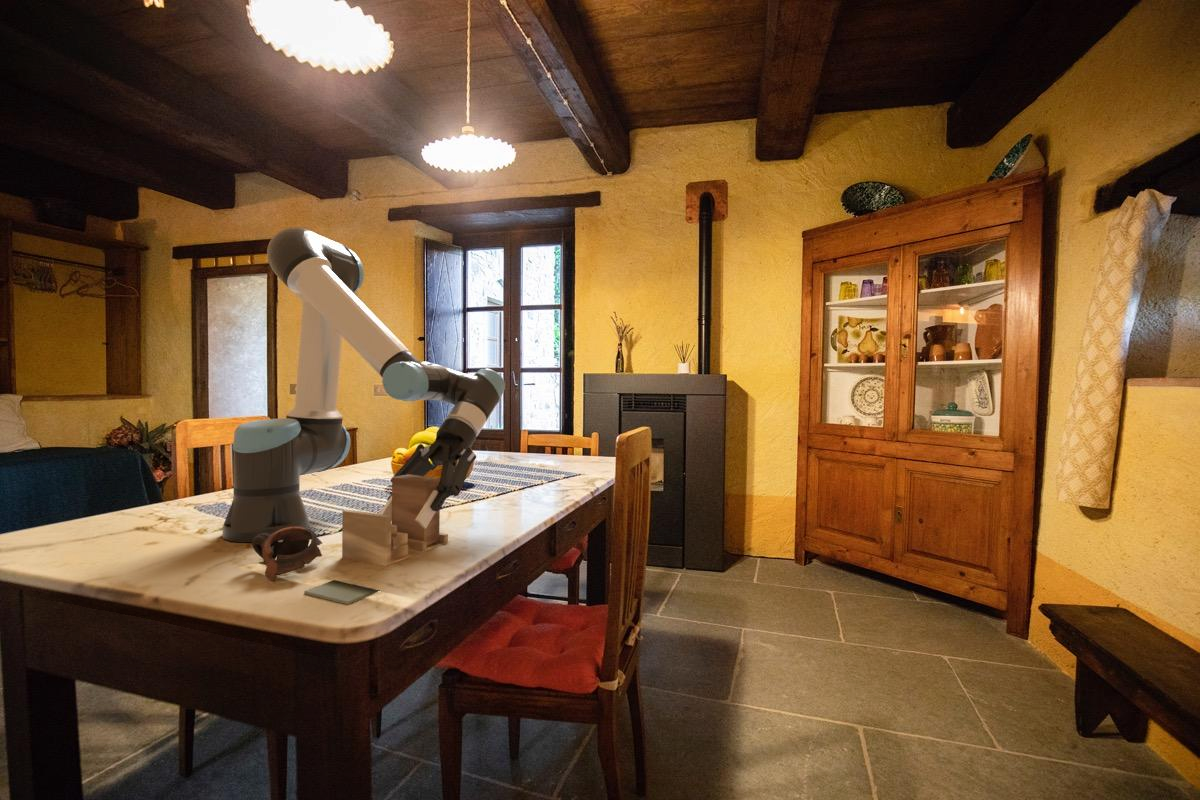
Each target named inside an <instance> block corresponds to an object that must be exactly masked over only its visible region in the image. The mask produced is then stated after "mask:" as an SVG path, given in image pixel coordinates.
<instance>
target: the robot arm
mask: <svg viewBox="0 0 1200 800" xmlns="http://www.w3.org/2000/svg"><path fill="white" fill-rule="evenodd" d="M266 253H267V254H266V255H267V260H268V264H269V266H270V267H271V270H272V272H273V273H274V274H275V275H276V276H277V277H278V278H279V279H280V281H281V282H282V283H283V284H284V285H285V286H286V287H287V288H288V289H289V290H290V291H291V292H292V293H294V294H295V295H296V297H297V298H298V299H299V300H300V302H301V303H302V308H301V321H300V336H299V346H298V347H299V349H298V360H297V371H296V383H295V384H296V385H295V386H296V387H295V399H294V407H292V408H291V409H290V410H289V411H287V413H286V416H285V417H286V418H284V417H283V418H281V417H279V418H269V419H259V420H253V421H248V422H245V423H242V424H239V425H238V426H237V427H236V428H235V430H234V433H233V434H234V435H233V442H232V445H231V446H232V460H233V461H232V462H233V463H232V464H233V465H232V466H233V467H232V468H233V469H232V470H233V471H232V473H233V476H232V479H233V497H232V498H233V499H232V501H231V504H230V507H229V510H228V512H227V515H226V517H225V519H224V523H223V525H222V539H223V540H225V541H229V542H233V543H234V542H235V543H252V542H253V539H254V538H255V537H256V536H257V535H259V534H262V533H268V534H273V533H274V532H276V531H278V530H280V529H283V528H287V527H295V526H298V527H304V528H308V527H309V528H310V526H309V525H310V524H309V523H310V519H309V515H308V512H307V510H306V506H305V505H304V502H303V499H302V496H301V493H300V492H301V491H300V489H301V488H300V485H301V484H300V482H301V481H300V476H304V475H308V474H313V473H322V472H326V471H328V470H329V469H333V468H335V467H337V466H338V465H340V464H341V463H342V462H344V460H345V459H346V458H347V456H348V454H349V451H350V448H351V436H350V433H349V431H347V428H346V427H345V426H344V425H343V419H344V418H343V416H344V415H342V414H341V413H340V412H339V410H338V409H337V404H338V402H337V401H338V392H339V391H338V389H339V379H340V377H339V376H340V365H341V354H342V353H341V352H342V342H343V341H342V340H343V338H344V339H345V341H346V342H347V343H348V344H349V345H350V346H352V348H353V349H354V350H355V351H356V352H357V353H358V354H359V355H360V356H361V357H362V358H363V360H365V362H367V363H368V364H369V365H370V367H372V368H373V370H374V371H375V372H376V373H377V374H378V375H379V376H380V377H381V379H382V385H383V386H382V387H383V388H384V389H383V390H384V391H385V393H386V394H387V395H388V396H389V397H391V399H395V400H397V401H402V402H416V401H440V402H443V403H447V404H449V405H453V407H452V408H451V410H450V411H449V412H448V414H447V415H446V418H445V420H444V421H443V422H442V424H441V425H440V427H439V428H438V429H437V432H436V436H435V440H434V441H433V442H432V443H430V445H427V446H424V445H423V444H422V443H420V444H417V446H416V448H415V450H414V452H413V453H412V454H411V456H409V458H408V459H407V460H406V461H405V463H403V465H402V466H401V467H400V468H399V469H398V470H397V472H396V473H395V474H394V475H393V476H392V477H396V476H401V475H407V474H410V475H419V476H426V475H427V474H428V473H429V472H430V471H434V470H435V469H436V468H437V467H441V473H440V476H439V478H440V482H439V486H438V487H436V488H437V489H438V490H439V492H437V490H433V492H432V493H431V495H430V497H429V498H428V500H427V501H426V503H425V505H424V506H423V508H422V509H421V511H420V513H419V514H418V516H417V518H416V519H415V521H416V522H417V523H418V524H419V525H420V526H421V527H422V528H424V529H426V527H427V526H428V524H429V522H430V521H431V519H432V517H433V516H434V514H435V512H436V511H437V512H438V511H439V510H441V508H442V506H443V505H444V503H445V501H446V499H448V498H450V497H451V496H453V497H458V496H459V495H460V493H461V490H462V488H463V485H464V483H465V481H466V477H467V476H468V472H469V470H470V469H471V465H472V464H473V463H474V461H475V460H476V459H477V455H476V454H475V452H474V451H473V449H472V446H473V445H474V442H475V441H476V440H477V437H478V436H479V434H480V433H481V432H482V429H483V427H484V426H485V425H486V422H487V421H488V419H489V418H490V415H491V414H492V413H493V412H494V410H495V408H496V406H497V405H498V403H500V400H501V398H502V396H503V394H504V392H505V390H506V382H505V379H504V378H503V376H502V375H501V374H499V373H498V372H497V371H495V370H493V369H491V368H481V369H478V370H477V371H476V373H474V375H473V374H470V373H465V372H462V371H459V370H454V369H452V368H451V367H450V368H449V367H446V366H443V365H440V364H439V363H435V362H429V361H420V360H419V359H418V358H417V357H416V356H415V355H414V354H413V353H412V352H411V351H410V349H408V348H407V347H406V345H405V344H404V343H403V342H402V341H401V340H400V339H399V338H398V337H397V336H395V334H394V333H393V332H392V331H391V330H390V329H389V328H388V327H387V326H386V325H385V324H384V323H383V322H382V321H381V320H380V319H379V318H378V317H377V316H376V315H375V314H374V313H373V312H372V311H371V310H370V309H369V308H368V307H367V306H366V305H365V303H364V302H363V301H362V300H360V298H358V296H357V295H355V294H356V293H357V292H358V290H359V289H360V288H361V287H362V285H363V282H364V277H365V272H364V271H365V270H364V266H363V263H362V261H361V259H360V257H359V256H358V255H357V254H356V253H355V252H354V251H353V250H351V249H350V248H348V247H347V246H346V245H344V244H342V243H341V242H337V241H335V240H331V239H329V238H328V237H325V236H322V235H320V234H318V233H316V232H315V231H312V230H309V229H307V228H304V227H303V228H302V227H288V228H285V229H282V230H280V231H278V232H277V233H276V234H274V236H272V238H271V239H270V241H269V243H268V246H267V251H266ZM390 482H391V483H392V478H391V479H390ZM386 501H387V502H386V503H385V505H384V506H383V507H382V509H381V511H379V513H378V514H382V515H389V516H391V521H392V492H391V493H390V495H389V496H388V498H387V500H386ZM309 528H308V529H309Z"/></svg>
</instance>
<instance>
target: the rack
mask: <svg viewBox="0 0 1200 800" xmlns="http://www.w3.org/2000/svg"><path fill="white" fill-rule="evenodd" d="M341 513H342V517H341V519H342V526H341V527H342V529H341V530H342V531H341V532H342V533H341V534H342V535H341V538H342V541H341V542H342V543H341V546H342V547H341V552H342V554H341V557H342V558H343V559H348V560H353V561H357V562H362V563H368V564H372V565H376V566H377V565H378V566H381V567H382V566H383V567H387V566H390V565H393V564H395V563H398V562H400V561H403V560H406V559H407V558H411V557H413V556H416V555H419V554H421V553H424V552H427V551H429V550H432V549H435V548H437V547H439V546H442V545H445V544H447V543H451V542H452V541H451V540H449V534H448V533H444V532H439V541H438V542H435V543H432V544H430V545H427V546H426V542H425V541H419V540H413V539H408V533H399V532H397V526H396V525H392V520H391V516H389V515H382V514H379V513H374V512H369V511H368V512H367V511H361V510H354V509H345V510H342V512H341Z"/></svg>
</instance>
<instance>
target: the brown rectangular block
mask: <svg viewBox="0 0 1200 800" xmlns="http://www.w3.org/2000/svg"><path fill="white" fill-rule="evenodd" d="M391 479H392V482H391V493H392V520H391V524H392V525H396V526H397V532H399V533H408V539H413V540H419V541H425V542H426V546H427V545H430V544H432V543H435V542H438V541H439V533H440V522H441V521H440V519H441V518H440V517H441V515H440V510H441V509H440V510H439V511H438V512H437V511H436V512H435V514H434V516H433V517H432V519H431V521H430V522H429V524H428V526H427V527H426V529H424V528H422V527H421V526H420V525H419V524H418V523H417V522H416V521H415V519H416V518H417V516H418V514H419V513H420V511H421V509H422V508H423V506H424V505H425V503H426V501H427V500H428V498H429V497H430V495H431V493H432V492H433V490H437V492H439V490H438V489H437V488H436V487H438V486H439V482H440V477H436V476H435V477H434V476H428V475H424V476H419V475H410V474H407V475H401V476H396V477H393V476H392V477H391Z"/></svg>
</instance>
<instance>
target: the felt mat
mask: <svg viewBox="0 0 1200 800" xmlns="http://www.w3.org/2000/svg"><path fill="white" fill-rule="evenodd" d="M378 591H379V592H381V589H380V590H379V589H376V588H371V587H367V586H362V585H358V584H354V583H353V584H352V583H349V582H346V581H345V582H344V581H340V580H336V579H334V580H333V579H332V580H330V581H327V582H325V583H322V584H318V585H317V586H314V587H312V588H308V589H305V590H304V595H309V596H313V597H317V598H321V599H325V600H327V601H328V600H329V601H332V602H337V603H341V604H344V605H351V604H353V603H355V602H358V601H359V600H362V599H365V598H367V597H369V596H371V595H374V594H376V593H379V592H378ZM366 596H367V597H366ZM364 597H365V598H364ZM357 600H358V601H357ZM352 602H353V603H352ZM350 603H351V604H350Z"/></svg>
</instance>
